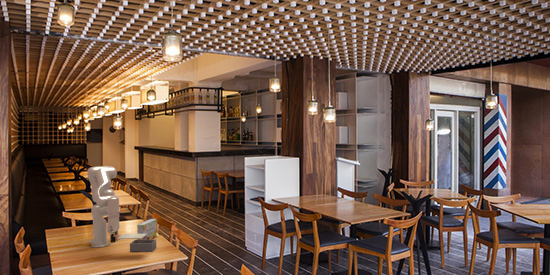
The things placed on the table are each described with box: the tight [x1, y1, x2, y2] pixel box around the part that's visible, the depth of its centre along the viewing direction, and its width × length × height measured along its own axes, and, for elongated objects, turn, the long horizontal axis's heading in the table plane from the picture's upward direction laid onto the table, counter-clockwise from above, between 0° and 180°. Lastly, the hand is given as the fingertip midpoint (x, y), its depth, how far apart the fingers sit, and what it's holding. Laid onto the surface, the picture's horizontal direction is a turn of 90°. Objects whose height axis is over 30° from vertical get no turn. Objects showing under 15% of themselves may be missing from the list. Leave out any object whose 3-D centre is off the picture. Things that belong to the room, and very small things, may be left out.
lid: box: [115, 233, 147, 241], centre depth 274 cm, size 23×11×3 cm, turn 90°
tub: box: [129, 239, 157, 253], centre depth 290 cm, size 16×10×6 cm, turn 90°
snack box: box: [136, 218, 158, 240], centre depth 315 cm, size 21×6×15 cm, turn 168°
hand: (114, 241), depth 274 cm, fingers closed on lid, 3 cm apart
